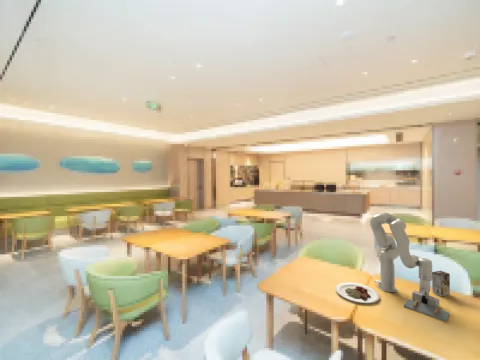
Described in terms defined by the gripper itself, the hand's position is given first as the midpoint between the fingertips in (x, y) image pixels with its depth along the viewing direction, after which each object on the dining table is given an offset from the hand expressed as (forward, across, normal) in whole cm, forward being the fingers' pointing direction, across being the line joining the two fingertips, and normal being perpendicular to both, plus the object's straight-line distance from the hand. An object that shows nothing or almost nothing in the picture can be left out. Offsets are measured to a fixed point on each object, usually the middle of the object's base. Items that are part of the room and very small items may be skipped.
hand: (425, 301), depth 161 cm
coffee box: (+1, -23, +6) cm, 24 cm away
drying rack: (+1, +11, +2) cm, 11 cm away
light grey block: (+1, 0, 0) cm, 1 cm away
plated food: (+1, +22, -38) cm, 44 cm away
